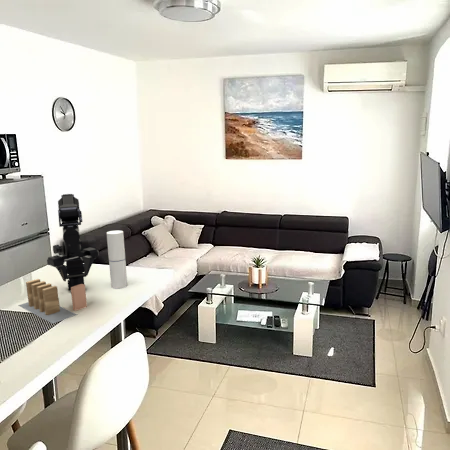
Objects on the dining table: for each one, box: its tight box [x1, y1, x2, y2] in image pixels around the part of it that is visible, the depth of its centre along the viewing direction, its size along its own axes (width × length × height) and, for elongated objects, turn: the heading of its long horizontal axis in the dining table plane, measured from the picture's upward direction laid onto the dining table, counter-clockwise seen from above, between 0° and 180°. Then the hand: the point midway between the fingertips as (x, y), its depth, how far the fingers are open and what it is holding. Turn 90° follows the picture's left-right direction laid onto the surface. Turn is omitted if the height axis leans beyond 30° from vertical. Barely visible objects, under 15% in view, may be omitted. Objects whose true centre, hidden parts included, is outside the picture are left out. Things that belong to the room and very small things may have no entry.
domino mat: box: [18, 301, 78, 324], centre depth 171 cm, size 28×10×1 cm, turn 49°
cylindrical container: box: [106, 230, 128, 290], centre depth 195 cm, size 7×7×25 cm
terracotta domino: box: [70, 283, 88, 312], centre depth 171 cm, size 2×5×10 cm, turn 139°
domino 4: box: [42, 285, 61, 315], centre depth 167 cm, size 2×5×10 cm, turn 139°
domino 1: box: [25, 278, 42, 307], centre depth 176 cm, size 2×5×10 cm, turn 139°
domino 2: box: [31, 280, 47, 310], centre depth 173 cm, size 2×5×10 cm, turn 139°
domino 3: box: [37, 283, 52, 312], centre depth 170 cm, size 2×5×10 cm, turn 139°
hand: (75, 278), depth 169 cm, fingers open, 9 cm apart
